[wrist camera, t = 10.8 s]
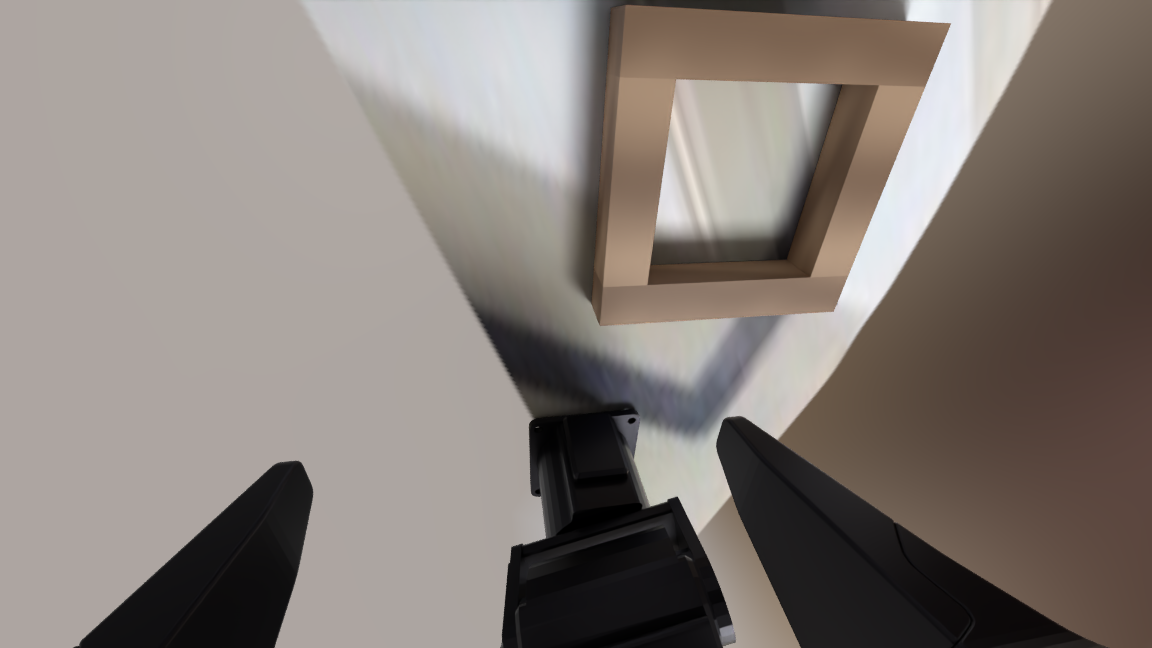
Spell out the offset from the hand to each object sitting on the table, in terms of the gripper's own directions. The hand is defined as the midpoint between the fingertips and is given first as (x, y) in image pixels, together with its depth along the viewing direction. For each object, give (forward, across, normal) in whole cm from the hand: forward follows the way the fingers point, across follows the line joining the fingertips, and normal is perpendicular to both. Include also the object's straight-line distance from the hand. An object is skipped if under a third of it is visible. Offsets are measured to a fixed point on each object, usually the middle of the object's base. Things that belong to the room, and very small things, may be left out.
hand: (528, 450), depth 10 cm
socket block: (+12, -10, -2) cm, 16 cm away
